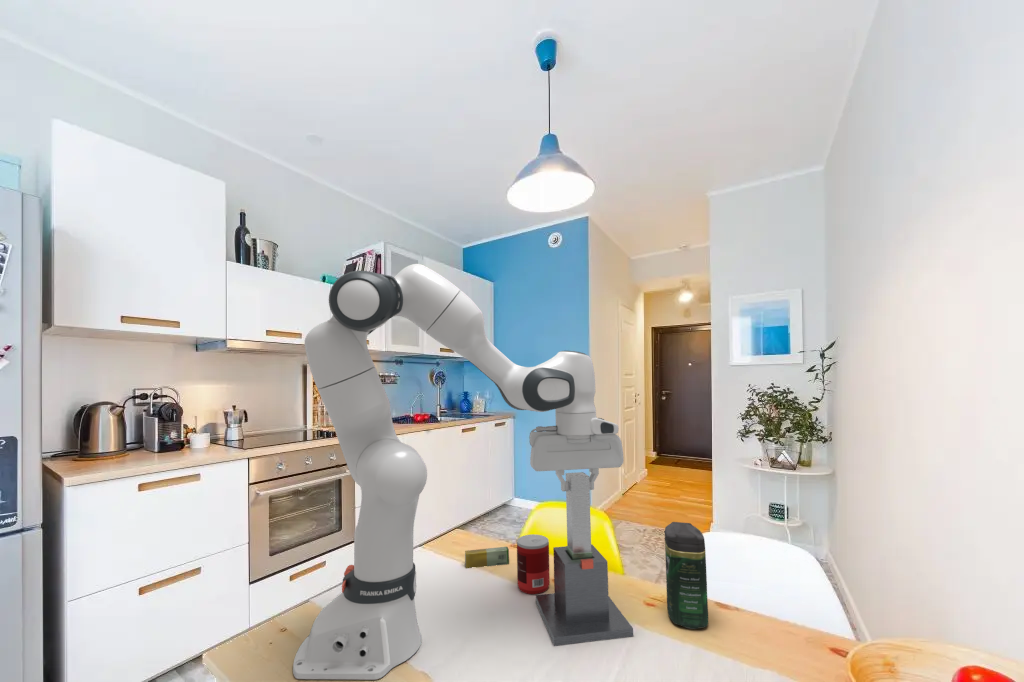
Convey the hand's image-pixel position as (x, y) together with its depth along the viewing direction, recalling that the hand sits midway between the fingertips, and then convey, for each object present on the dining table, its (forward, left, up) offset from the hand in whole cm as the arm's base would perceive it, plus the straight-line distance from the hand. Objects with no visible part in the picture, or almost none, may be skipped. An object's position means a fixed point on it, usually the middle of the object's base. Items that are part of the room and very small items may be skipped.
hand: (577, 490), depth 92 cm
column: (0, 0, -19) cm, 19 cm away
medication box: (-17, +30, -27) cm, 43 cm away
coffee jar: (+22, -4, -27) cm, 35 cm away
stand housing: (0, 0, -26) cm, 26 cm away
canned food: (-7, +15, -27) cm, 31 cm away
